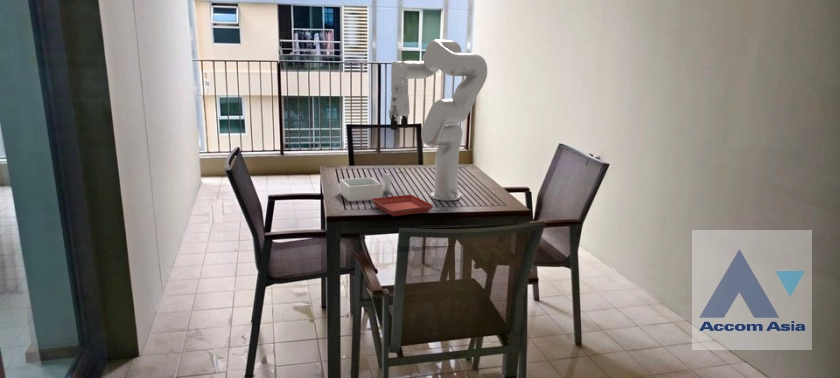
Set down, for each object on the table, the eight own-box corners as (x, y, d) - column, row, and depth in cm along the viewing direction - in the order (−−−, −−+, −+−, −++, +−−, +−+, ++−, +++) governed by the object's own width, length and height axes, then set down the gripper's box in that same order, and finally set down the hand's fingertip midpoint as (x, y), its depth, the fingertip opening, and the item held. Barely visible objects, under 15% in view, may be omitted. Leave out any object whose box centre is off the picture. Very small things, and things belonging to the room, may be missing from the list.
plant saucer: (434, 213, 215) (434, 204, 214) (391, 219, 206) (391, 210, 205) (411, 202, 230) (411, 194, 229) (370, 207, 221) (370, 198, 220)
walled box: (382, 198, 232) (382, 184, 231) (348, 201, 227) (348, 186, 226) (371, 191, 245) (371, 177, 243) (339, 193, 239) (339, 179, 238)
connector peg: (392, 193, 241) (392, 175, 239) (383, 194, 240) (384, 175, 238) (389, 191, 244) (389, 173, 243) (381, 192, 243) (381, 173, 241)
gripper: (397, 91, 243) (397, 131, 247) (416, 89, 258) (415, 127, 262) (382, 90, 246) (382, 129, 250) (401, 88, 262) (400, 126, 265)
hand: (399, 128), depth 256 cm, fingers open, 9 cm apart
